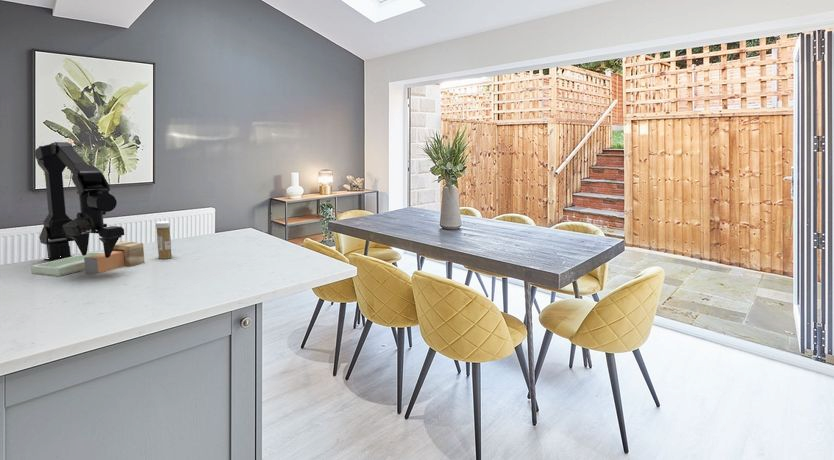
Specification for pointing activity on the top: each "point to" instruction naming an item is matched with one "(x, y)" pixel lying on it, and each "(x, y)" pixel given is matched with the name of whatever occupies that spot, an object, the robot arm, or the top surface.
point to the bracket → (131, 252)
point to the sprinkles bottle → (163, 239)
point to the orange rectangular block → (104, 262)
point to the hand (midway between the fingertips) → (95, 256)
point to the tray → (62, 265)
